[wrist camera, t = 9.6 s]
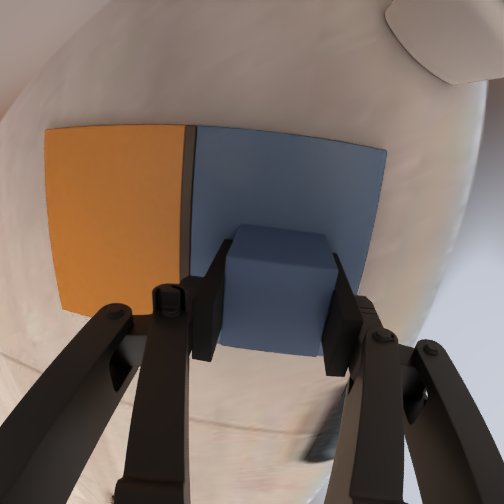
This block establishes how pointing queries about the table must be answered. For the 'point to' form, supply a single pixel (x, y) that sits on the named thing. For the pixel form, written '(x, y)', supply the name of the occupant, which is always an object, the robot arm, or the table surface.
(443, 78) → the eye dropper bottle
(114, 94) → the table surface
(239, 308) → the blue block
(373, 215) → the sorting board
